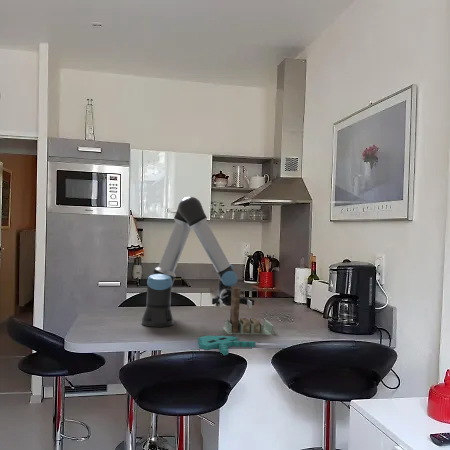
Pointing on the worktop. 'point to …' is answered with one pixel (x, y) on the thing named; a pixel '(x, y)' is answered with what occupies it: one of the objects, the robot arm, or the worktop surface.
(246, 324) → the pine offcut
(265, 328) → the slot rack
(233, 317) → the walnut panel
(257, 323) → the pine offcut
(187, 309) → the worktop surface
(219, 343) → the alien figure
